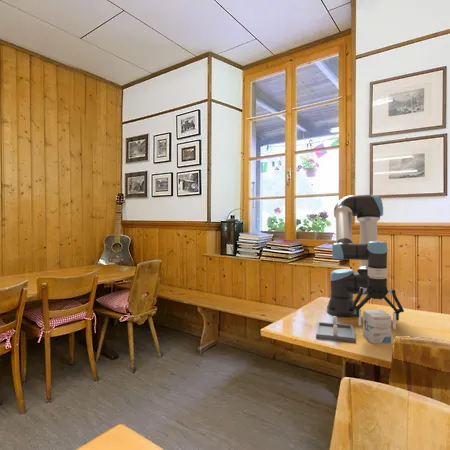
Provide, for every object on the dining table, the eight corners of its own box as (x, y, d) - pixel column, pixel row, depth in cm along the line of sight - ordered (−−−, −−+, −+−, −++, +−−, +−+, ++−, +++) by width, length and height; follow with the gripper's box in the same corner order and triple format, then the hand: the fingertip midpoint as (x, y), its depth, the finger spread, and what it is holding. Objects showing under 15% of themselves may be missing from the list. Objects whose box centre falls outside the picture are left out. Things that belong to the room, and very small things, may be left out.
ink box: (381, 335, 144) (381, 309, 143) (391, 342, 135) (392, 315, 135) (362, 335, 143) (362, 309, 143) (371, 343, 135) (371, 316, 134)
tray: (317, 325, 156) (317, 313, 156) (352, 328, 152) (352, 316, 151) (316, 338, 141) (316, 325, 141) (355, 342, 136) (355, 329, 136)
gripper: (346, 277, 138) (346, 326, 139) (412, 280, 131) (411, 332, 131) (345, 274, 145) (345, 320, 146) (407, 277, 138) (407, 326, 138)
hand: (376, 326), depth 139 cm, fingers open, 13 cm apart
